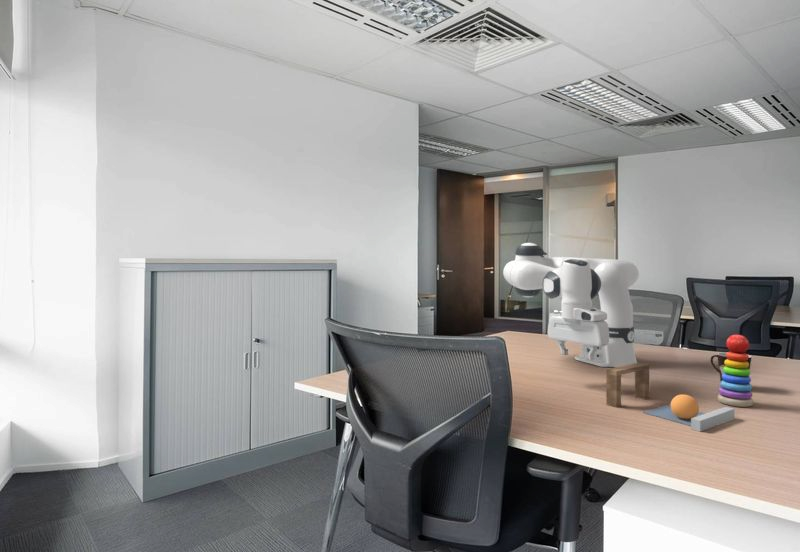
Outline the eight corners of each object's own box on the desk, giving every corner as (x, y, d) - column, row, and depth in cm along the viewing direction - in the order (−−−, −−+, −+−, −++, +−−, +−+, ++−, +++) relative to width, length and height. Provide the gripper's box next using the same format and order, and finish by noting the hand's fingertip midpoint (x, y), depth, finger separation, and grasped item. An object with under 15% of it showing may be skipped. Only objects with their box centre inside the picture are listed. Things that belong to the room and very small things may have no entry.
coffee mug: (757, 392, 141) (757, 358, 141) (724, 390, 143) (724, 357, 143) (737, 382, 153) (738, 350, 152) (707, 381, 154) (708, 350, 154)
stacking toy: (743, 409, 126) (744, 338, 125) (711, 401, 133) (712, 334, 132) (759, 405, 129) (760, 335, 129) (727, 397, 136) (728, 331, 136)
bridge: (606, 404, 131) (606, 369, 131) (639, 395, 139) (639, 362, 139) (616, 407, 129) (616, 371, 128) (649, 398, 137) (649, 364, 136)
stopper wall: (691, 429, 112) (691, 418, 112) (725, 416, 120) (725, 406, 120) (700, 431, 110) (700, 420, 110) (734, 418, 118) (734, 408, 118)
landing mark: (642, 412, 124) (642, 411, 124) (669, 404, 130) (669, 404, 130) (691, 426, 114) (691, 425, 114) (717, 417, 120) (717, 416, 120)
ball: (689, 426, 115) (664, 416, 120) (702, 420, 118) (677, 411, 123) (691, 402, 114) (666, 393, 119) (705, 397, 117) (680, 389, 122)
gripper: (543, 310, 155) (543, 353, 156) (598, 316, 138) (598, 364, 138) (556, 309, 158) (556, 350, 159) (612, 314, 141) (612, 361, 142)
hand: (576, 357), depth 148 cm, fingers open, 8 cm apart
